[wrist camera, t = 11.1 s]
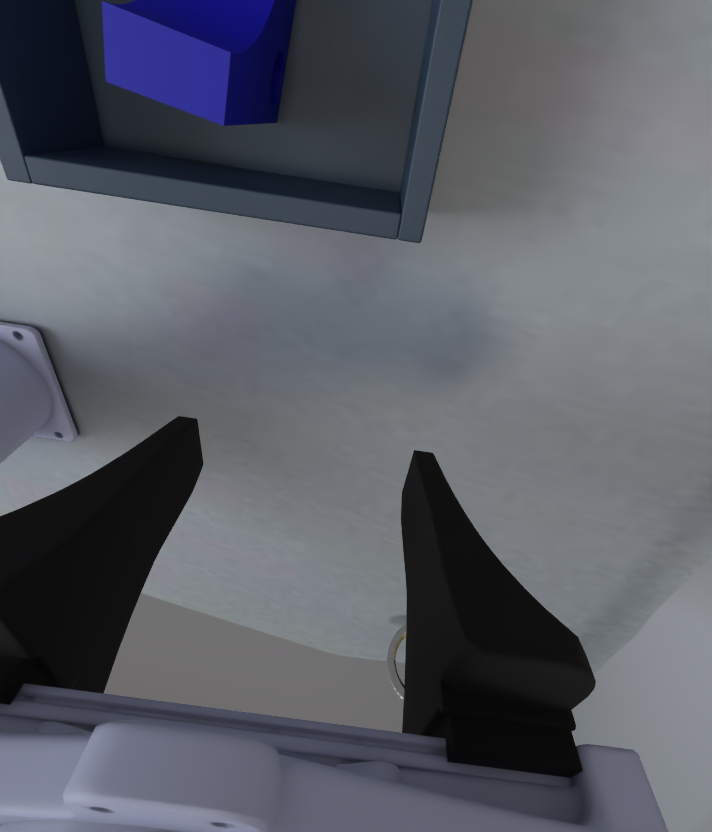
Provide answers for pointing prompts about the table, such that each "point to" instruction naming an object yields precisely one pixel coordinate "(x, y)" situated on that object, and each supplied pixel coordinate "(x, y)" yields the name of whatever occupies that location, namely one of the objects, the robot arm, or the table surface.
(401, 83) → the desk bin
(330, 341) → the table surface
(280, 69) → the blue cradle bracket
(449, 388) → the table surface
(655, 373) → the table surface
